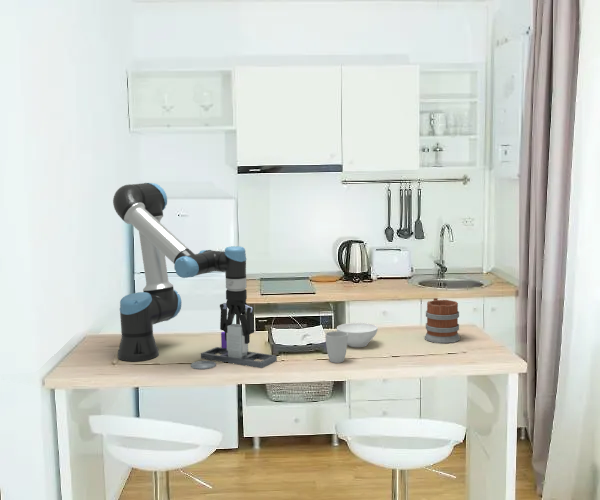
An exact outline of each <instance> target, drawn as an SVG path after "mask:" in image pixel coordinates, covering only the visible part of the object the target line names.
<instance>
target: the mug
mask: <svg viewBox="0 0 600 500" xmlns="http://www.w3.org/2000/svg"><path fill="white" fill-rule="evenodd" d="M458 304H459V303H458V302H457V301H456V300H455V301H454V300H449V299H438V297H433V300H428V301H427V302H426V306H427V307H426V311H425V317H426V323H425V329H426V333H425V335H424V339H425V340H426V341H427V342H430V343H432V344H433V343H436V344H453V343H457V342H458V341H460V339H461V337H460V335H459V333H458V331H459V330H460V324H459V322H458V320H459V319H458V318H460V311H459V305H458Z"/></svg>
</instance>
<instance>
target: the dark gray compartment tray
mask: <svg viewBox="0 0 600 500" xmlns="http://www.w3.org/2000/svg"><path fill="white" fill-rule="evenodd" d="M200 359H202V360H206V361H213V362H220V361H222V363H226V362H228V363H229V364H233V363H234V365H239V364H241V365H240V366H245V365H247V366H246V367H252V366H253V368H258V369H263V368H265V367H267V366H269V365H271V364H274V363H275V361H276V362H277V361H278V360H277V359H278V358H277V355H276V354H267V353H262V352H261V353H260V352H256V351H254V352H253V351H249V350H248V351H247V356H244V357H242V358H234V357H228V350H227V348H222V346H221V347H220V346H215V347H213V348H211V349H208V350H205V351H203V352H201V353H200ZM259 360H261V361H259Z"/></svg>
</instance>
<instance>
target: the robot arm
mask: <svg viewBox="0 0 600 500" xmlns="http://www.w3.org/2000/svg"><path fill="white" fill-rule="evenodd" d="M112 204H113V208H114V210H115V212H116V214H117V215H118V217H119V218H120V219H121V220H122V221H123V222H124V223H125V224H127V225H132V227H134V229H136V230H137V231H138V235H139V242H140V248H141V249H140V250H141V256H142V261H143V262H142V263H143V269H144V277H145V284H146V285H145V286H144V288H143V289H142V291H140V292H132V293H129V294H126V295H124V296H122V298H121V299H120V302H119V314H120V315H119V316H120V330H121V331H120V332H121V339H120V342H119V346H118V349H117V358H118V359H119V360H120V361H124V362H140V361H141V362H142V361H148V360H152V359H154V358H157V357H158V356H159V355H160V354H159V353H160V351H159V346H157V343H156V338H155V337H154V332H153V331H154V328H153V326H154V325H156V324H159V323H163V322H168V321H170V320H171V319H174V318H175V317H177V316H178V314H179V313H180V312H181V310H182V298H181V296H180V294H179V292H178V291H177V290H176V289H174V284H172V283H171V282H170V281H169V275H168V269H167V261H166V258H167V259H168V260H169V261H170V262H171V263H172V264H173V265H174V271H175V273H176V275H177V276H178V277H180V278H182V279H185V278H186V279H187V278H194V277H196V276H200V275H204V274H208V273H211V272H212V273H213V272H221V273H225V288H226V290H225V300H226V302H223V303H221V304H219V308H220V320H219V321H220V322H219V330H220V331H222V332H225V340H226V341H227V350H228V333H227V326H229V325H231V324H234V318H235V315H237V318H239V322H240V325H241V326H242V330H243V333H244V334H243V335H242V353H245V352H247V351H249V344H250V337H251V336H250V335H251V334H254V333H255V323H254V308H255V307H254V306H252V305H251V306H249V305H248V303H247V297H248V296H247V295H248V294H247V255H246V254H247V253H246V248H245V247H244V246H241V245H240V246H239V245H237V246H235V245H233V246H226V247H225V249H224V251H222V250H213V249H202V250H200V251H199V252H198V253H194V252H193V251H192V250H191V249H189V247H188V246H186V245H185V243H183V242H182V241H181V240H180V239H179V238H177V237H176V236H175V235H174V234H173V233H172V231H170V230H168V228H167V227H166V226H165V225H164V224H162V223H161V220H162V218H163V217H164V211H165V209H166V206H167V205H168V196H167V193H166V191H165V190H164V188H163V187H161V186H160V185H159V184H158V183H153V182H144V183H134V184H133V183H132V184H129V183H128V184H125V185H122V186H120V187H119V188H118V189H117V190H116V191H115V193H114V196H113V199H112Z"/></svg>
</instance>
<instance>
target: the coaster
mask: <svg viewBox="0 0 600 500" xmlns="http://www.w3.org/2000/svg"><path fill="white" fill-rule="evenodd" d="M216 366H217V363H216V361H214V360H197V361H194V362H192V363H190V368H191V369H194V370H208V369H213V368H215V367H216Z"/></svg>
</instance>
